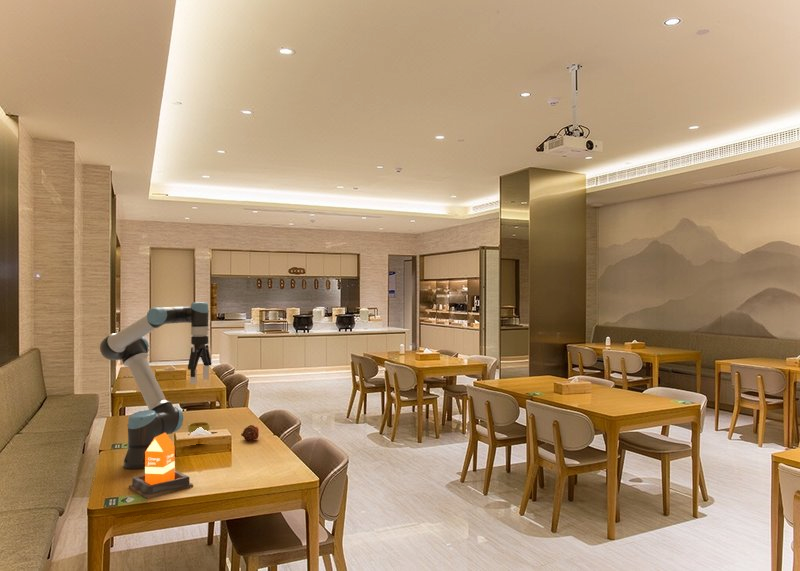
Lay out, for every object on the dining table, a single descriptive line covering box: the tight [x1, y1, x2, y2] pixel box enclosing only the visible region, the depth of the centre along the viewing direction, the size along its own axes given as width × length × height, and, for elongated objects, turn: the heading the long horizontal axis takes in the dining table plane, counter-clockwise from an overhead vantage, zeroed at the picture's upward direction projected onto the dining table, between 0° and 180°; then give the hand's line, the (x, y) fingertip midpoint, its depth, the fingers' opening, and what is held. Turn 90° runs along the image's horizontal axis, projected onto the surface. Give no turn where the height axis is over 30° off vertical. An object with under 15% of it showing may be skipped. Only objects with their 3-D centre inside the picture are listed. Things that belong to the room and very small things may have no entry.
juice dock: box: [128, 469, 194, 499], centre depth 228 cm, size 18×18×4 cm
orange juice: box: [144, 433, 176, 485], centre depth 228 cm, size 8×9×20 cm
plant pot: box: [187, 421, 210, 434], centre depth 297 cm, size 10×10×10 cm
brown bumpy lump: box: [240, 424, 260, 442], centre depth 302 cm, size 8×8×12 cm
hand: (200, 381), depth 264 cm, fingers open, 13 cm apart
